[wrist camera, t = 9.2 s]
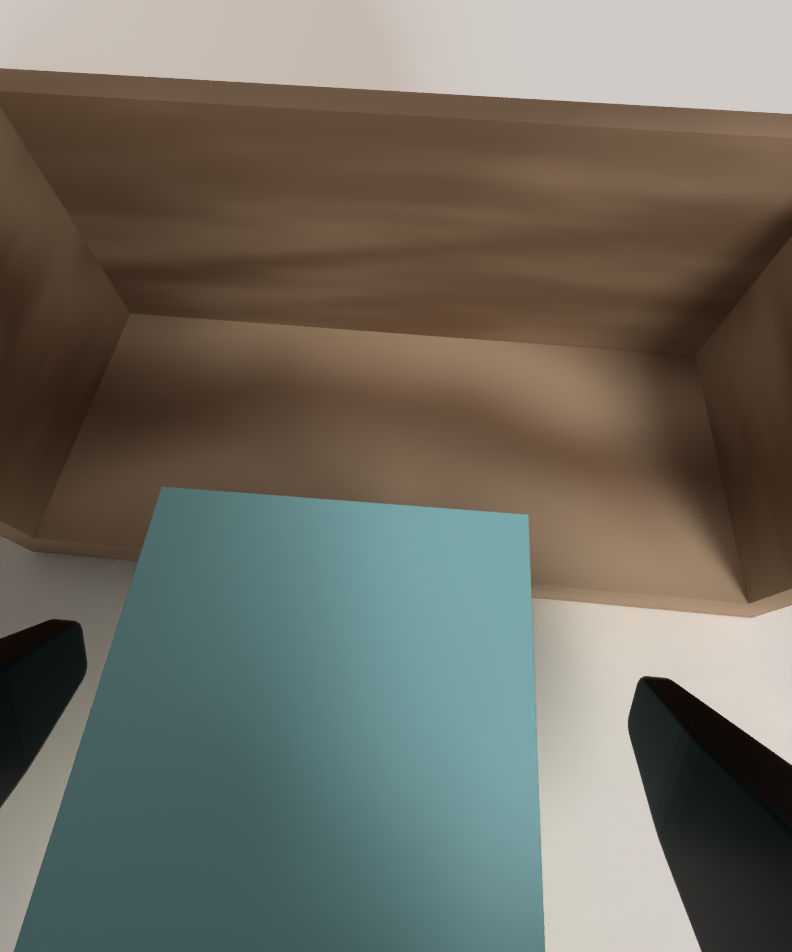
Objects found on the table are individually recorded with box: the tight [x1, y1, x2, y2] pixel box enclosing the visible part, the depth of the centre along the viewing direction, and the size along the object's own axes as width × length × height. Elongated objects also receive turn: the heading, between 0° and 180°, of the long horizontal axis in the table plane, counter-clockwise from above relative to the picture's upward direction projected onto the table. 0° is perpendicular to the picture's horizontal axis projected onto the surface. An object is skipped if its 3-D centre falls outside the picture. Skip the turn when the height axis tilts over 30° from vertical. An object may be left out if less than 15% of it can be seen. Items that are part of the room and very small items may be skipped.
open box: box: [0, 68, 792, 618], centre depth 14 cm, size 10×23×9 cm, turn 85°
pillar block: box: [14, 487, 545, 952], centre depth 10 cm, size 4×4×11 cm
